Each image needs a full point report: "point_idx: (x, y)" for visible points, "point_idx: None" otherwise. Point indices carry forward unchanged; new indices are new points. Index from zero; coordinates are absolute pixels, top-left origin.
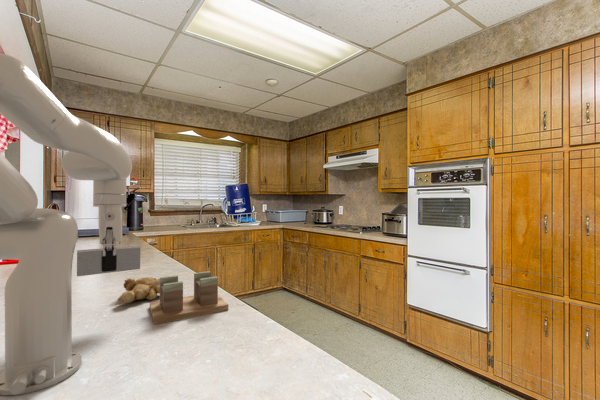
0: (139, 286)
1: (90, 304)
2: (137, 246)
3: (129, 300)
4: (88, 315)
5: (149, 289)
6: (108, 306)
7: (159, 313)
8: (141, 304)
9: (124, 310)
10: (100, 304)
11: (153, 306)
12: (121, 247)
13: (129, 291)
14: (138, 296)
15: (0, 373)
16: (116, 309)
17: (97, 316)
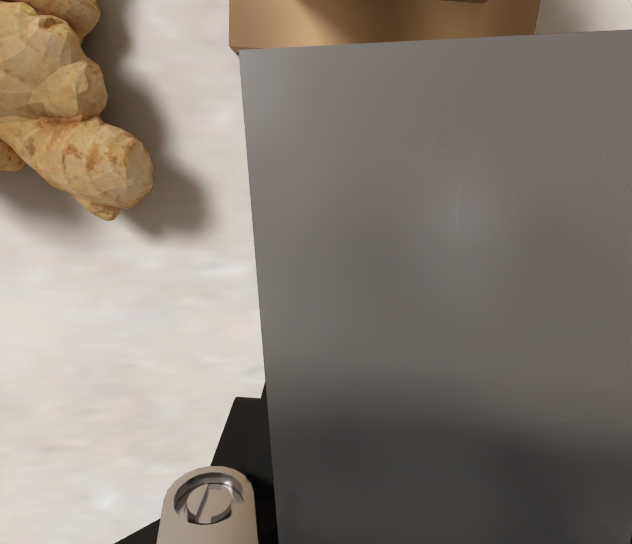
0: (3, 75)
1: (14, 326)
2: (433, 81)
3: (148, 157)
4: (187, 334)
5: (28, 6)
6: (92, 252)
7: (461, 26)
8: (145, 88)
9: (203, 185)
10: (36, 285)
11: (315, 36)
12: (378, 466)
13: (95, 155)
14: (106, 98)
15: None
16: (164, 220)
17: (224, 301)
